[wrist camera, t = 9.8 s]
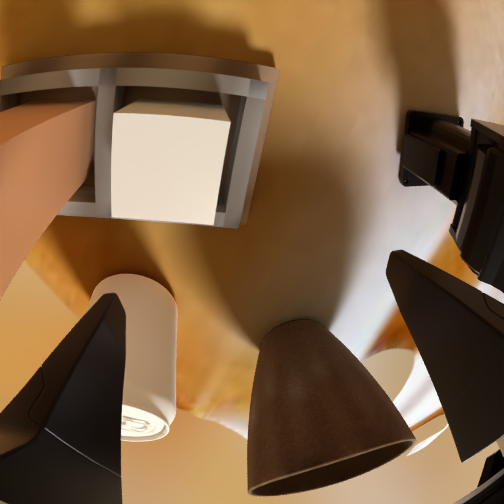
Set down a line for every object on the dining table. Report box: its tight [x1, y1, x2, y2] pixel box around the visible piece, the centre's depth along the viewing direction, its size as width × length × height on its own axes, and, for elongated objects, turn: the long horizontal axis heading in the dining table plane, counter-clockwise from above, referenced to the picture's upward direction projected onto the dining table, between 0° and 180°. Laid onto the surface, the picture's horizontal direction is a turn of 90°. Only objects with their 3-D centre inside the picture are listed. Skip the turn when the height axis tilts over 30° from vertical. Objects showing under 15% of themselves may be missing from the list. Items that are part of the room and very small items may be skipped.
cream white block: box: [111, 98, 231, 225], centre depth 15 cm, size 5×5×6 cm
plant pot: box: [247, 320, 416, 496], centre depth 26 cm, size 15×15×16 cm
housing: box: [0, 52, 280, 229], centre depth 16 cm, size 19×11×4 cm, turn 79°
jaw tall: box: [0, 100, 96, 299], centre depth 10 cm, size 5×5×13 cm
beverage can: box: [86, 274, 178, 441], centre depth 21 cm, size 8×8×12 cm
